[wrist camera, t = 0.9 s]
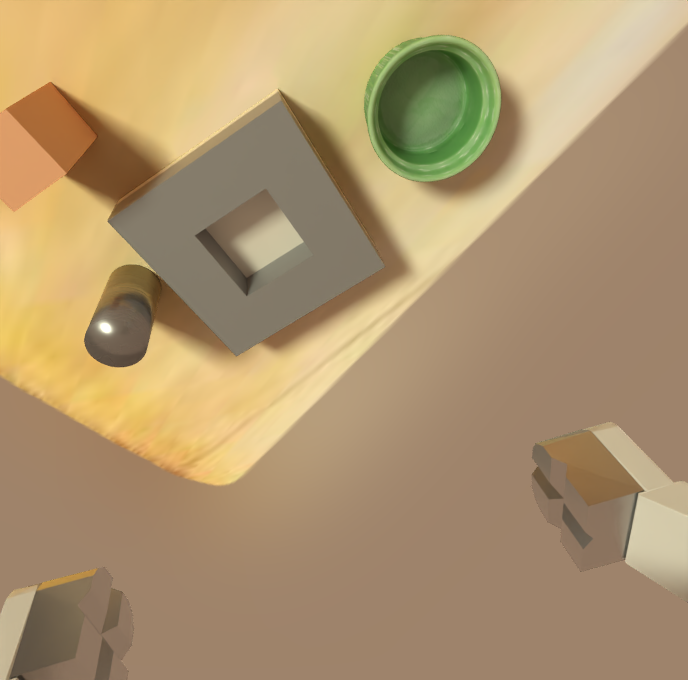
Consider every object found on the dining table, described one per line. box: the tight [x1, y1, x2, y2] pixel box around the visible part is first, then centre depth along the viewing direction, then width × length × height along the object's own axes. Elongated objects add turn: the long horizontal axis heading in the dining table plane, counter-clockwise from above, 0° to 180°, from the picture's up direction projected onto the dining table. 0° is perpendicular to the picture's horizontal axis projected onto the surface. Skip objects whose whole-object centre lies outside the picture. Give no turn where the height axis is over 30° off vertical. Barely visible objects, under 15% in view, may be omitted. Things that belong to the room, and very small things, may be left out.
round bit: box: [84, 265, 161, 367], centre depth 40 cm, size 4×4×8 cm
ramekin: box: [364, 35, 501, 182], centre depth 37 cm, size 9×9×4 cm
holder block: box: [108, 89, 385, 356], centre depth 40 cm, size 14×14×4 cm
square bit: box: [0, 82, 98, 212], centre depth 32 cm, size 4×4×8 cm
